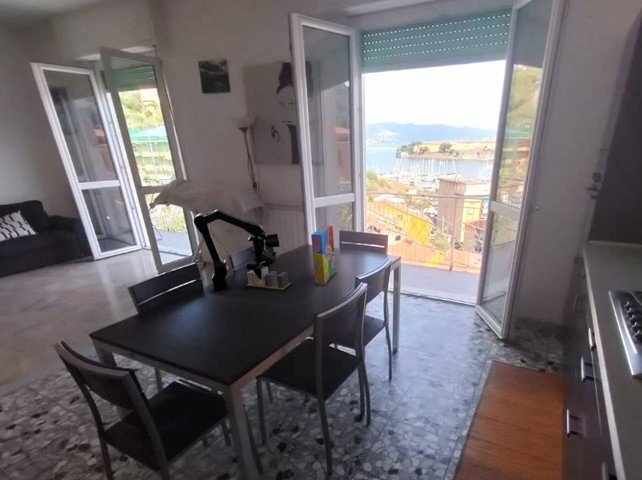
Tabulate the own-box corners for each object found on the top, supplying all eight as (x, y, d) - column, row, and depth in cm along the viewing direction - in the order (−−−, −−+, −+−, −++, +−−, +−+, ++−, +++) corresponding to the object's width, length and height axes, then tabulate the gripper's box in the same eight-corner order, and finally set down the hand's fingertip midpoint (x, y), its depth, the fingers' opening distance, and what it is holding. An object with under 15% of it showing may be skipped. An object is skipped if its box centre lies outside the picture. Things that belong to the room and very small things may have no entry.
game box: (324, 285, 188) (320, 235, 177) (315, 285, 189) (310, 234, 178) (335, 272, 206) (332, 225, 195) (326, 271, 207) (323, 225, 196)
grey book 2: (283, 288, 183) (281, 276, 180) (278, 287, 184) (276, 275, 181) (288, 283, 188) (287, 272, 186) (284, 283, 189) (282, 272, 186)
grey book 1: (272, 286, 185) (270, 275, 182) (267, 286, 186) (265, 274, 183) (278, 282, 190) (276, 271, 187) (273, 282, 191) (272, 270, 188)
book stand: (283, 291, 182) (281, 280, 180) (246, 287, 188) (244, 276, 186) (291, 284, 190) (290, 274, 187) (256, 281, 196) (254, 270, 193)
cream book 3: (263, 282, 185) (261, 270, 183) (258, 281, 186) (256, 269, 183) (269, 278, 191) (267, 266, 188) (264, 277, 191) (263, 266, 189)
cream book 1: (253, 284, 188) (251, 273, 185) (248, 284, 189) (246, 272, 186) (259, 280, 193) (258, 269, 191) (255, 280, 194) (253, 269, 191)
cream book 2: (258, 285, 187) (256, 273, 185) (254, 284, 188) (252, 273, 185) (264, 281, 192) (263, 270, 190) (260, 280, 193) (258, 269, 190)
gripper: (262, 254, 171) (267, 284, 177) (282, 244, 187) (285, 272, 194) (243, 253, 174) (248, 282, 180) (264, 243, 190) (268, 270, 197)
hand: (263, 277), depth 188 cm, fingers closed on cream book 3, 6 cm apart
